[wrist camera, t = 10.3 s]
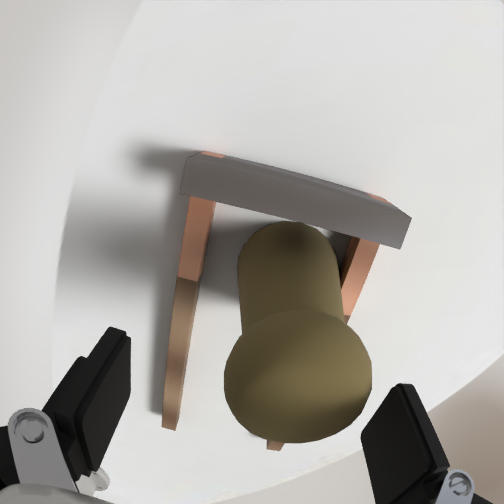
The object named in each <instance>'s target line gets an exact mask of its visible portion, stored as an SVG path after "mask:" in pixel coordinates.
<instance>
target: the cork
mask: <svg viewBox="0 0 504 504" xmlns="http://www.w3.org/2000/svg"><path fill="white" fill-rule="evenodd" d="M237 274H238V288H239V300H240V313H241V325H242V335H241V336H240V337H239V339H238V340H237V342H236V343H235V345H234V347H233V349H232V351H231V353H230V355H229V357H228V359H227V361H226V366H225V371H224V392H225V398H226V401H227V403H228V405H229V407H230V409H231V412H232V414H233V415H234V416H235V418H236V419H237V421H238V422H239V423H240V424H241V425H242V426H243V427H244V428H246V429H247V430H248V431H249V432H251V433H253V434H255V435H257V436H259V437H261V438H263V439H266V440H271V441H275V442H280V443H306V442H312V441H318V440H321V439H324V438H326V437H329V436H332V435H334V434H337V433H338V432H340V431H341V430H343V429H345V428H346V427H348V426H349V425H351V424H352V423H353V421H354V420H355V419H356V418H357V417H358V416H359V415H360V414H361V412H362V410H363V408H364V406H365V404H366V402H367V400H368V397H369V395H370V392H371V390H372V367H371V360H370V357H369V355H368V352H367V350H366V348H365V347H364V345H363V343H362V341H361V339H360V337H359V336H358V335H357V334H356V333H355V332H354V331H353V330H352V329H351V328H350V327H349V326H348V325H346V324H345V320H344V311H343V302H342V294H341V286H340V279H339V271H338V264H337V258H336V252H335V250H334V249H333V247H332V245H331V243H330V241H329V240H328V238H326V237H325V236H324V235H323V234H322V233H321V232H320V231H318V230H317V229H316V228H313V227H311V226H309V225H306V224H304V223H301V222H288V221H283V222H279V223H275V224H270V225H267V226H266V227H264V228H262V229H261V230H259V231H257V232H256V233H254V234H253V235H252V236H251V237H250V239H249V240H248V241H247V242H246V243H245V244H244V246H243V248H242V251H241V253H240V256H239V258H238V272H237Z"/></svg>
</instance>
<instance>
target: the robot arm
mask: <svg viewBox="0 0 504 504" xmlns="http://www.w3.org/2000/svg"><path fill="white" fill-rule="evenodd" d="M130 392H131V338H130V337H128V336H126V332H125V331H123V330H120V329H117V328H113V327H109V328H108V329H107V330H106V332H105V333H104V334H103V336H102V337H101V339H100V340H99V342H98V343H97V344H96V346H95V347H94V349H93V350H92V352H91V353H90V354H89V356H88V357H87V358H85V357H83V356H80V357H78V358H77V360H76V361H75V362H74V364H73V365H72V366H71V368H70V369H69V371H68V372H67V374H66V375H65V376H64V378H63V379H62V381H61V382H60V384H59V385H58V387H57V388H56V390H55V391H54V392H53V394H52V395H51V397H50V399H49V400H48V402H47V403H46V405H45V406H44V408H43V409H42V411H40V410H38V409H34V408H24V409H21V410H18V411H17V412H15V413H14V414H13V415H12V416H11V418H10V419H9V422H8V426H4V427H0V504H114V503H111V502H107V501H104V500H101V499H98V498H95V497H93V494H94V492H95V490H97V491H103V490H106V489H107V488H108V486H109V482H110V481H109V478H108V477H107V475H106V474H105V473H104V472H103V471H102V470H101V469H100V468H99V467H100V465H101V462H102V460H103V457H104V455H105V453H106V450H107V448H108V446H109V443H110V441H111V439H112V436H113V434H114V432H115V429H116V427H117V425H118V422H119V420H120V418H121V416H122V413H123V411H124V409H125V407H126V404H127V402H128V400H129V397H130ZM361 443H362V447H363V450H364V455H365V458H366V463H367V467H368V471H369V476H370V480H371V484H372V489H373V493H374V498H375V503H376V504H493V503H491V502H489V501H487V500H485V499H484V498H482V497H480V496H478V495H477V494H475V493H474V487H475V486H474V481H473V479H472V478H471V476H470V475H469V474H468V473H466V472H465V471H463V470H460V469H454V470H451V471H450V472H448V471H447V469H448V468H449V467H450V465H449V462H448V460H447V457H446V455H445V453H444V451H443V448H442V446H441V443H440V441H439V439H438V437H437V434H436V432H435V430H434V428H433V425H432V423H431V421H430V419H429V417H428V415H427V412H426V410H425V408H424V406H423V404H422V402H421V400H420V398H419V395H418V393H417V391H416V389H415V387H414V386H413V385H412V384H401V383H399V384H397V385H396V386H395V387H393V388H392V389H391V390H390V391H389V393H388V395H387V396H386V398H385V399H384V401H383V402H382V404H381V405H380V407H379V408H378V409H377V411H376V412H375V414H374V415H373V417H372V418H371V419H370V421H369V422H368V424H367V425H366V426H365V428H364V429H363V431H362V433H361Z"/></svg>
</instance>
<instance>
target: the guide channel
mask: <svg viewBox="0 0 504 504" xmlns="http://www.w3.org/2000/svg"><path fill="white" fill-rule="evenodd" d="M180 194H184V195H188V196H190V201H189V206H188V212H187V218H186V223H185V229H184V235H183V241H182V248H181V254H180V261H179V267H178V274H177V281H176V288H175V296H174V303H173V311H172V319H171V328H170V336H169V345H168V355H167V365H166V376H165V387H164V400H163V413H162V427H163V428H167V429H171V430H174V431H175V429H176V426H177V423H178V419H179V413H180V405H181V398H182V391H183V384H184V377H185V371H186V364H187V358H188V351H189V345H190V339H191V333H192V327H193V321H194V315H195V309H196V303H197V298H198V292H199V287H200V281H201V276H202V270H203V265H204V260H205V254H206V249H207V244H208V239H209V234H210V229H211V224H212V219H213V214H214V209H215V204H216V202H219V203H224V204H228V205H232V206H236V207H241V208H245V209H249V210H253V211H257V212H261V213H265V214H269V215H274V216H278V217H282V218H286V219H289V220H293V221H297V222H301V223H305V224H309V225H313V226H317V227H320V228H324V229H328V230H332V231H336V232H339V233H343V234H347V235H350V236H352V237H351V240H350V242H349V245H348V248H347V251H346V254H345V257H344V259H343V262H342V265H341V268H340V270H339V279H340V286H341V294H342V302H343V311H344V320H345V324H346V325H347V322H348V320H349V318H350V316H351V313H352V311H353V309H354V307H355V304H356V302H357V300H358V297H359V295H360V293H361V290H362V288H363V285H364V283H365V280H366V278H367V276H368V273H369V271H370V268H371V265H372V263H373V260H374V258H375V255H376V252H377V250H378V247H379V244H383V245H386V246H390V247H393V248H397V249H401V246H402V243H403V241H404V238H405V235H406V233H407V230H408V227H409V224H410V222H411V219H412V218H411V217H409V216H408V215H407V214H405V213H404V212H403V211H401V210H400V209H398V208H397V207H395V206H394V205H393V204H391V203H390V202H388V201H387V200H385V199H383V198H380V197H377V196H374V195H371V194H368V193H365V192H362V191H358V190H355V189H352V188H349V187H345V186H342V185H339V184H335V183H332V182H328V181H325V180H321V179H318V178H314V177H311V176H307V175H303V174H300V173H296V172H292V171H288V170H284V169H280V168H277V167H273V166H269V165H264V164H260V163H256V162H252V161H248V160H243V159H239V158H235V157H230V156H226V155H221V154H216V153H211V152H207V151H204V152H201V153H198V154H195V155H193V156H190V157H187V158H186V162H185V167H184V172H183V177H182V183H181V188H180ZM283 445H284V443H280V442H275V441H271V440H267V449H269V450H276V451H280V450H281V448H282V447H283Z"/></svg>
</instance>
